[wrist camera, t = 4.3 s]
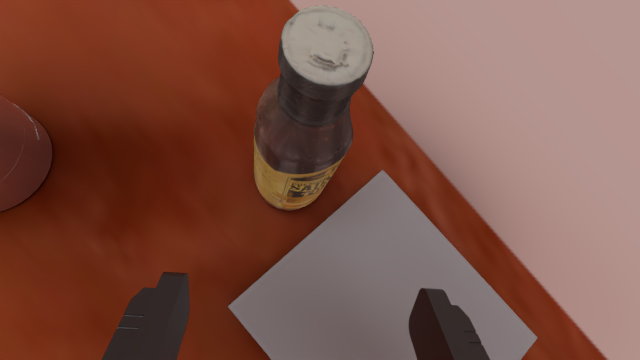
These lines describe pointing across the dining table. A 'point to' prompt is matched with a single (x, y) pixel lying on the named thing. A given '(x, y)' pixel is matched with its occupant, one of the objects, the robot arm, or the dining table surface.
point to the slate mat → (370, 286)
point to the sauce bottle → (309, 105)
